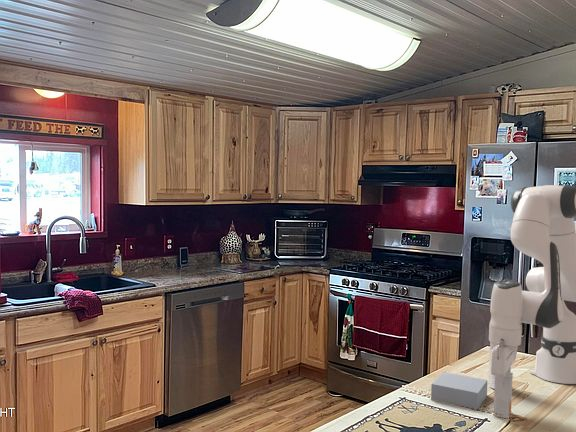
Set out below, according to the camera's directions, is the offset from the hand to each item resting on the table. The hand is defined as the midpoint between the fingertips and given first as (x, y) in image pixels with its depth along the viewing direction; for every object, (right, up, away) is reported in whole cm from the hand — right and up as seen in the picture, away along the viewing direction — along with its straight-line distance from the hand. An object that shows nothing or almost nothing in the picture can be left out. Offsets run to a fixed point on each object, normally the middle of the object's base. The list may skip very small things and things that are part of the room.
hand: (502, 383), depth 160 cm
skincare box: (0, -9, 0) cm, 9 cm away
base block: (-9, -9, +13) cm, 18 cm away
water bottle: (+8, -9, +23) cm, 26 cm away
